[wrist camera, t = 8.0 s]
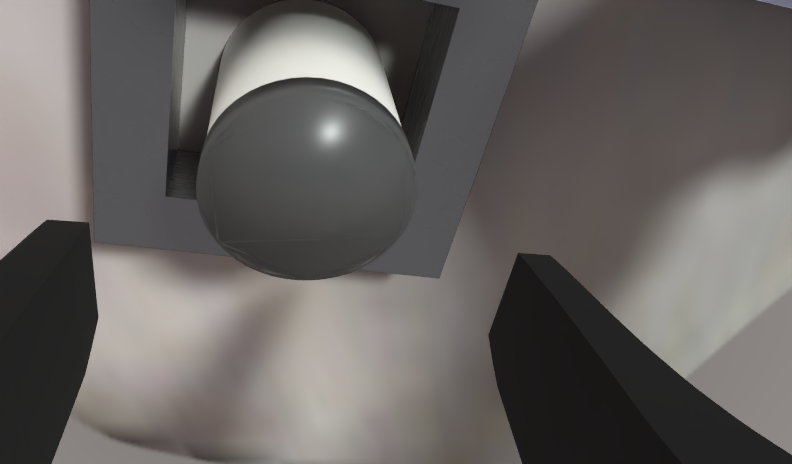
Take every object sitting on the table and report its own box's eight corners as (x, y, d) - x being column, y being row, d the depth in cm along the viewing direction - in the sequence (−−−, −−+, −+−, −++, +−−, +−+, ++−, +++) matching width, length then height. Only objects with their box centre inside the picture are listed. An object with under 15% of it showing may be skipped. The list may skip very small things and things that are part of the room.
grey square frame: (527, -80, 17) (557, -55, 15) (426, 230, 23) (439, 278, 21) (112, -181, 15) (85, -167, 13) (113, 192, 21) (94, 242, 19)
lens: (418, 81, 20) (461, 192, 15) (305, 180, 21) (311, 311, 16) (300, -42, 17) (307, 45, 13) (182, 80, 19) (147, 199, 14)
